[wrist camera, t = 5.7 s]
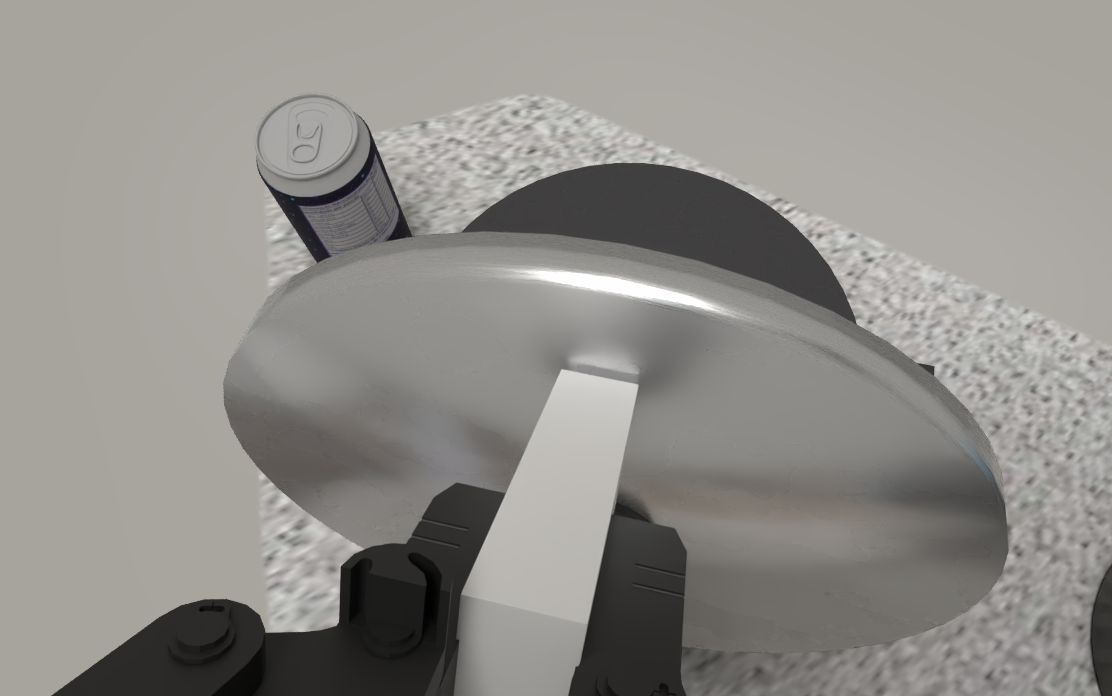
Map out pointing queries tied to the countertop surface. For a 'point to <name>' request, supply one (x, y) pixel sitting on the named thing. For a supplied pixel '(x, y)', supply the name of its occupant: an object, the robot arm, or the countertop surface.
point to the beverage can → (327, 175)
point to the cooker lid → (634, 424)
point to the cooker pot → (673, 224)
